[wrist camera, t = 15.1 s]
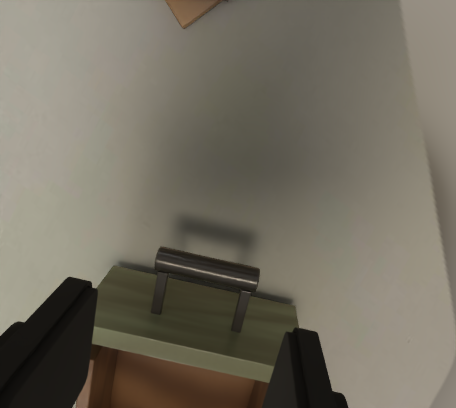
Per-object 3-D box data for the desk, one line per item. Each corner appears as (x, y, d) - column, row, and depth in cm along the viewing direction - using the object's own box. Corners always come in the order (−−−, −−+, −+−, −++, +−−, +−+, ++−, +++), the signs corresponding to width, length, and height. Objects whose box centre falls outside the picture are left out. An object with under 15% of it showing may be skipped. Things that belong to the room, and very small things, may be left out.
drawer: (121, 209, 26) (78, 251, 20) (312, 252, 26) (330, 308, 20) (94, 408, 32) (53, 491, 25) (252, 443, 32) (252, 535, 26)
